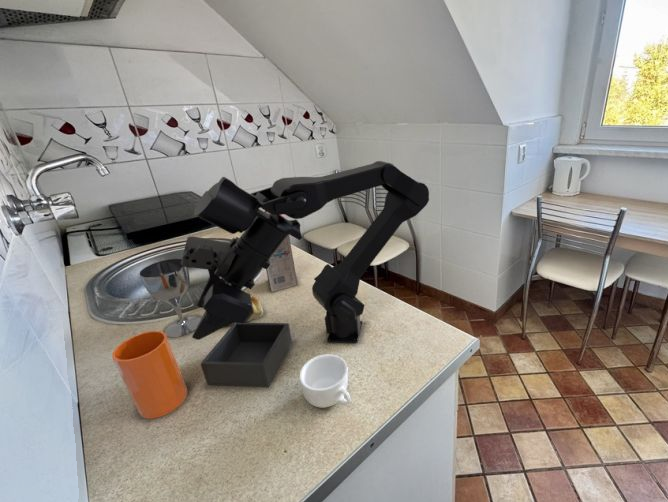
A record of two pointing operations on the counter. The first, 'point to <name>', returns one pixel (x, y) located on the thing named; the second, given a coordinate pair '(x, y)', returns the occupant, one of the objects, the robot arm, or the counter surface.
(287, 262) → the juice carton
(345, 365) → the teacup
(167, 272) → the wine glass
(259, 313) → the pastry
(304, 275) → the counter surface
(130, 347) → the orange cup
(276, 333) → the basket
